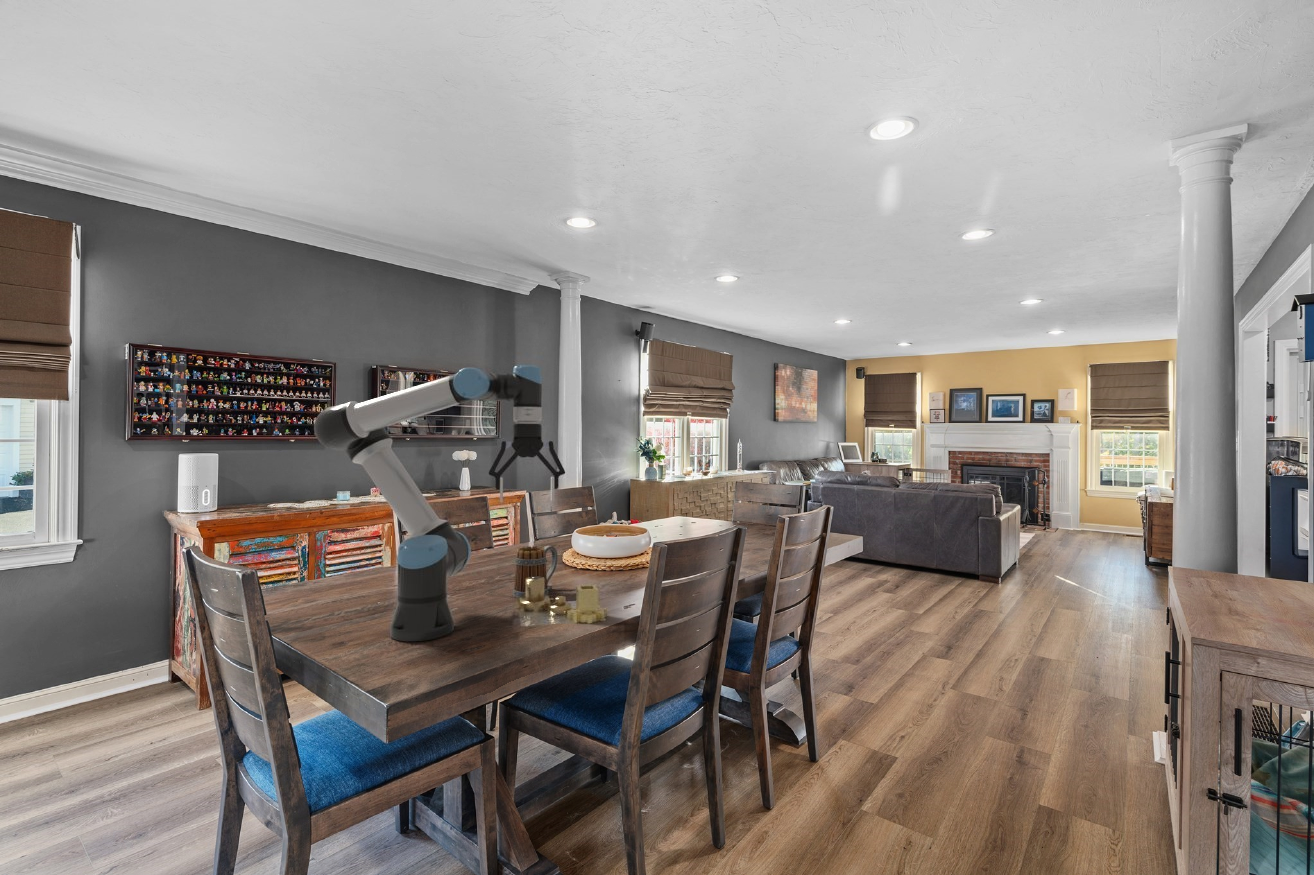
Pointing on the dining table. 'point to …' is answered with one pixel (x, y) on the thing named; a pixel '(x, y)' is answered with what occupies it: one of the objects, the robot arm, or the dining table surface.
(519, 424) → the robot arm
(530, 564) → the mug
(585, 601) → the gear
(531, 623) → the carrier
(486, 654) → the dining table surface
